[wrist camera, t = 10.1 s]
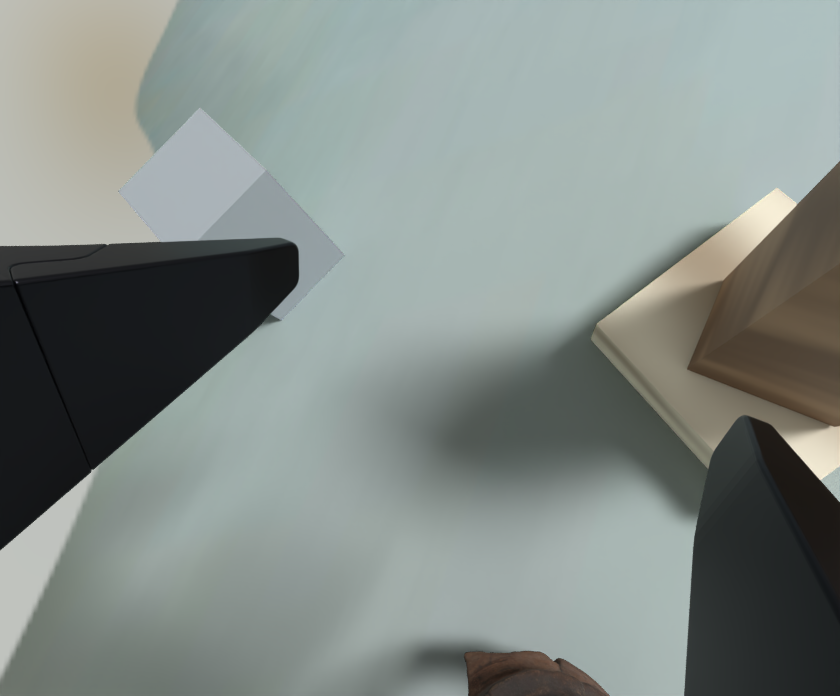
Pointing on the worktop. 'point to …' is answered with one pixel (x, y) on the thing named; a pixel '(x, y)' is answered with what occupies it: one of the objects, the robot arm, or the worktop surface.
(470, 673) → the pottery mug
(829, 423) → the walnut block
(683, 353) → the birch block
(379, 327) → the worktop surface
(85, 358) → the robot arm
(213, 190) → the grey block
